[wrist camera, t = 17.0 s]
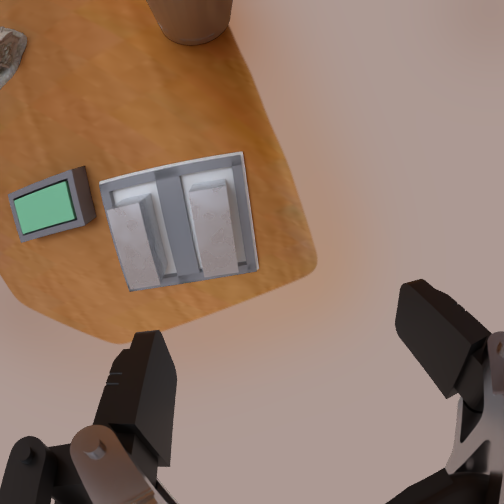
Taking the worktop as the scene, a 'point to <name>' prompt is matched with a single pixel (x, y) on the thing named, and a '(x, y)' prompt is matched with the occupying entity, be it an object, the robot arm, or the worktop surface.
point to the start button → (45, 207)
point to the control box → (79, 197)
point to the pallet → (188, 211)
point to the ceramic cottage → (10, 53)
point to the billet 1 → (138, 240)
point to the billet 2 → (213, 227)
